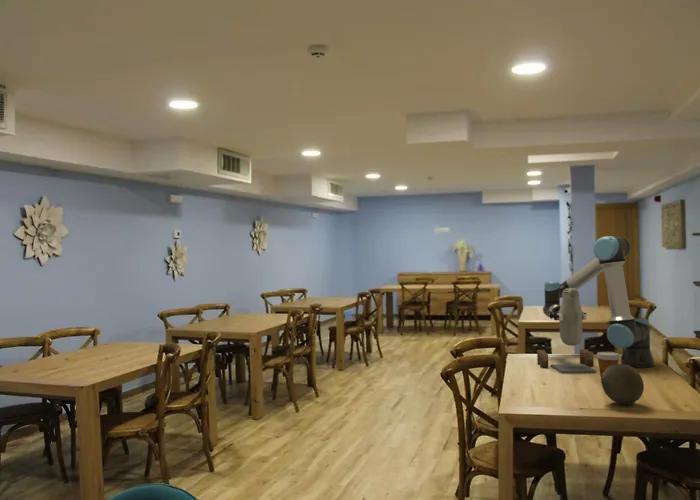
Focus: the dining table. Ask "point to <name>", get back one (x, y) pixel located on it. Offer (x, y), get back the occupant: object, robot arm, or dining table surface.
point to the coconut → (622, 384)
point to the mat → (572, 368)
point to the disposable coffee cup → (607, 360)
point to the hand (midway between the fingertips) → (573, 317)
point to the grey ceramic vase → (571, 317)
